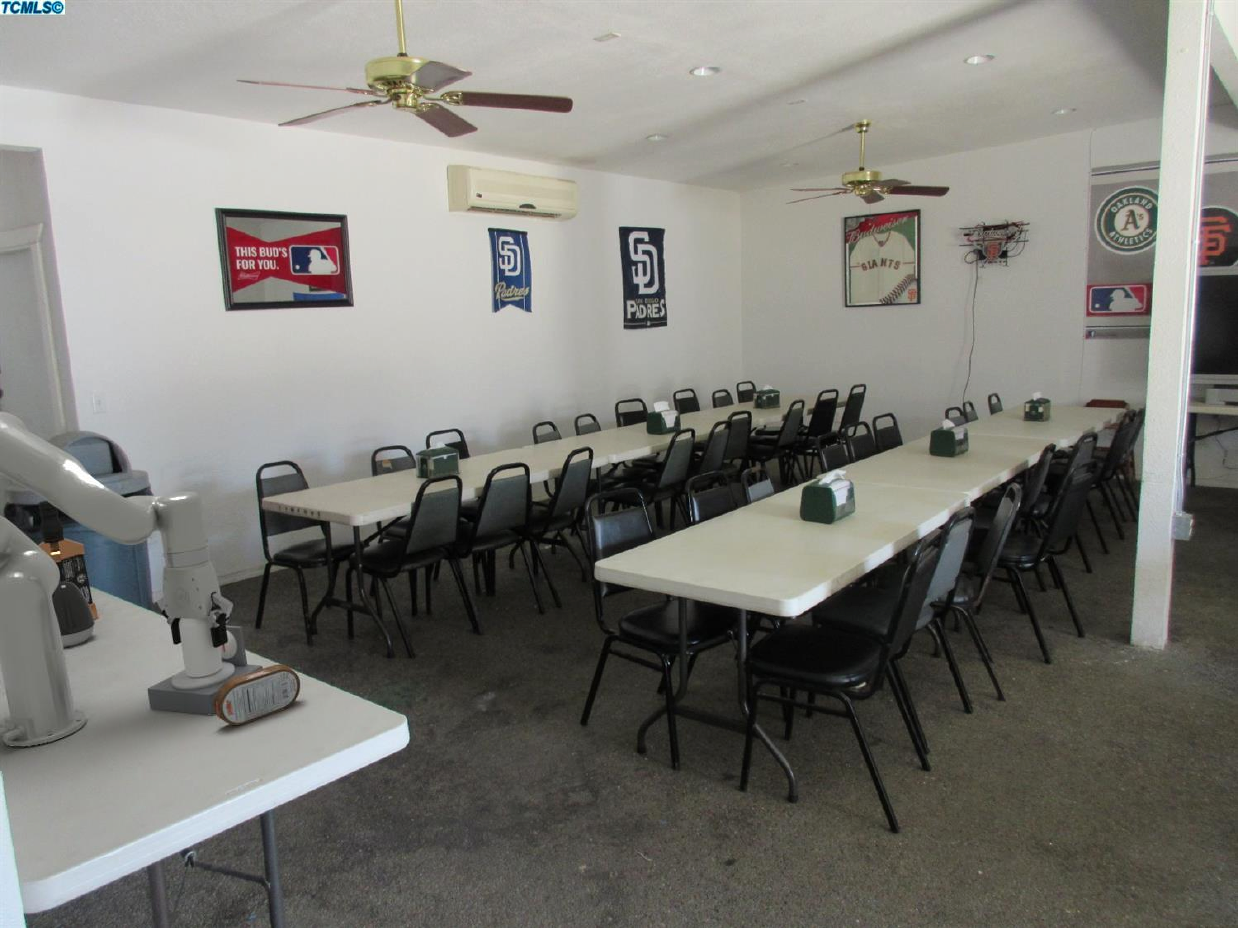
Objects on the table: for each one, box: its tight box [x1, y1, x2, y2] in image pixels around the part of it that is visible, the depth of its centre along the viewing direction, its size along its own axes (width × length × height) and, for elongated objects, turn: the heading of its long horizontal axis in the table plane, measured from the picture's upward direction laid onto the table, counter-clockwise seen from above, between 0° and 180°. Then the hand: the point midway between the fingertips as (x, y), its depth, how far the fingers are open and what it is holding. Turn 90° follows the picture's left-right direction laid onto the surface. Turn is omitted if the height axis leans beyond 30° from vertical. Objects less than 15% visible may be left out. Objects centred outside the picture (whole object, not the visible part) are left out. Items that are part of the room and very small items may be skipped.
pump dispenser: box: [52, 581, 96, 648], centre depth 202 cm, size 10×10×15 cm
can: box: [179, 615, 222, 678], centre depth 165 cm, size 6×6×12 cm
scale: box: [147, 625, 264, 716], centre depth 166 cm, size 14×15×12 cm
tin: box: [213, 663, 301, 726], centre depth 156 cm, size 15×3×8 cm, turn 134°
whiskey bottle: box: [37, 500, 99, 620], centre depth 216 cm, size 10×10×32 cm
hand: (200, 643), depth 165 cm, fingers open, 9 cm apart
